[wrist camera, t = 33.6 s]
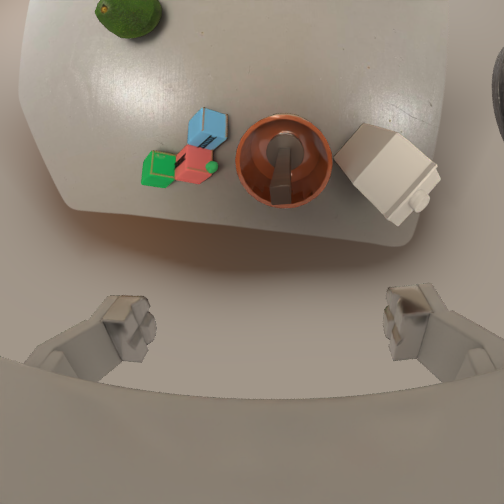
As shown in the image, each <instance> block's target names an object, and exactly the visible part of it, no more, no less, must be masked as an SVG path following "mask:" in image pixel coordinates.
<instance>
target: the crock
mask: <svg viewBox="0 0 504 504" xmlns="http://www.w3.org/2000/svg"><path fill="white" fill-rule="evenodd" d="M279 133H291V134H293V135H295V136H297V137H298V138H299V139H300V141H301V142H302V145H303V148H304V158H303V161H302V163H301V164H300V165H299V166H298V167H297V168H295V169H293V170H291V204H283V205H272V204H271V195H270V184H271V180H272V176H273V172H274V167H273V166H272V165H271V164H270V163H269V161H268V159H267V156H266V149H267V146H268V144H269V142H270V140H271V139H272V138H273V137H274V136H275V135H277V134H279ZM235 163H236V170H237V174H238V177H239V179H240V181H241V184H242V185H243V186H244V188H245V189H246V190H247V192H248V193H249V194H250V195H251V196H253V197H254V198H255V199H256V200H258V201H259V202H261V203H264V204H266V205H268V206H271V207H276V208H295V207H298V206H301V205H304V204H307V203H308V202H310V201H311V200H313V199H315V198H316V197H317V196H318V195H319V194H320V193H321V192H322V191H323V190H324V188H325V186H326V184H327V183H328V181H329V179H330V175H331V171H332V153H331V150H330V147H329V144H328V142H327V140H326V138H325V137H324V136H323V134H322V133H321V131H320V130H319V129H317V128H316V127H315V126H314V125H313V124H312V123H310V122H309V121H308V120H307V119H305V118H303V117H301V116H299V115H296V114H291V113H277V114H274V115H271V116H268V117H266V118H264V119H261V120H260V121H258V122H257V123H255V124H254V125H252V126H251V127H250V128H249V129H248V130H247V131H246V133H245V134H244V135H243V136H242V138H241V140H240V143H239V145H238V147H237V151H236V159H235Z"/></svg>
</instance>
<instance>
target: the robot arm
mask: <svg viewBox="0 0 504 504" xmlns="http://www.w3.org/2000/svg"><path fill="white" fill-rule="evenodd" d="M386 300H387V303H388V306H387V307H386V308H385V309H384V316H383V327H384V332H385V336H386V338H388V339H389V340H390V344H389V349H390V352H391V356H392V359H393V361H398V360H407V359H417V358H418V359H417V360H418V361H419V362H420V363H422V364H423V365H424V366H425V367H426V368H427V369H428V370H429V371H430V372H431V373H432V374H434V375H435V376H436V377H437V378H438V379H439V380H440V381H441V382H442V383H440V384H435V385H429V386H424V387H418V388H412V389H405V390H399V391H392V392H384V393H377V394H367V395H357V396H346V397H330V398H310V399H236V398H216V397H202V396H190V395H179V394H169V393H161V392H154V391H146V390H139V389H132V388H126V387H120V386H114V385H109V384H104V383H99V382H98V381H99V380H101V379H102V378H103V377H104V376H105V375H107V374H108V373H109V372H110V371H111V370H113V369H114V368H115V367H116V366H118V365H119V364H120V363H121V362H122V361H129V362H142V361H143V359H144V357H145V355H146V353H147V352H148V347H147V345H148V344H150V343H151V342H152V341H153V340H154V338H155V336H156V329H157V327H156V321H155V318H154V316H153V315H152V314H151V313H150V312H149V308H150V304H149V302H148V299H147V298H146V297H144V296H123V295H122V296H120V295H110V296H107V298H106V299H105V300H104V301H103V302H102V304H101V305H100V306H99V307H98V309H97V310H96V311H95V312H94V313H93V315H92V316H91V317H90V319H89V320H84V321H82V322H80V323H79V324H77V325H75V326H73V327H71V328H69V329H68V330H66V331H64V332H62V333H60V334H58V335H56V336H55V337H53V338H51V339H49V340H47V341H45V342H44V343H42V344H40V345H38V346H37V347H36V348H35V350H34V351H33V352H32V354H31V355H30V356H29V357H28V359H27V360H26V361H25V362H24V364H23V363H20V362H16V361H13V360H10V359H7V358H4V357H1V356H0V504H504V339H503V338H501V337H499V336H497V335H496V334H494V333H492V332H490V331H488V330H487V329H485V328H483V327H482V326H480V325H478V324H476V323H474V322H473V321H471V320H469V319H467V318H465V317H464V316H462V315H460V314H458V313H456V312H455V311H449V310H448V309H447V307H446V305H445V304H444V302H443V301H442V299H441V297H440V296H439V294H438V293H437V291H436V289H435V288H434V286H433V285H432V284H431V283H423V284H416V285H408V286H399V287H389V288H388V290H387V294H386Z"/></svg>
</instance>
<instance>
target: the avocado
mask: <svg viewBox="0 0 504 504" xmlns="http://www.w3.org/2000/svg"><path fill="white" fill-rule="evenodd" d="M95 14H96V16H97V18H98V20H99V21H100V22H101V23H102V24H103V25H104V26H105V27H106V28H107V29H108V30H109V31H110V32H112V33H114V34H115V35H117V36H118V37H120V38H126V39H128V38H137V37H140V36H144V35H146V34H147V33H149V32H151V31H152V30H153V29H154V28H155V27H156V25H157V24H158V22H159V20H160V18H161V15H162V7H161V5H160V2H159V0H100V1H99V3H98V4H97V7H96V10H95Z"/></svg>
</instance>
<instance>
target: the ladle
mask: <svg viewBox="0 0 504 504" xmlns="http://www.w3.org/2000/svg"><path fill="white" fill-rule="evenodd" d="M266 156H267V159H268V161H269V163H270V164H271V165H272V166H273V167H274V172H273V176H272V180H271V184H270V195H271V204H272V205H283V204H291V170H293V169H295V168H297V167H298V166H299V165H300V164H301V163H302V161H303V158H304V148H303V145H302V142H301V141H300V139H299V138H298V137H297V136H295V135H293V134H291V133H279V134H277V135H275V136H274V137H273V138H272V139H271V140H270V142H269V144H268V146H267V149H266Z"/></svg>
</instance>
